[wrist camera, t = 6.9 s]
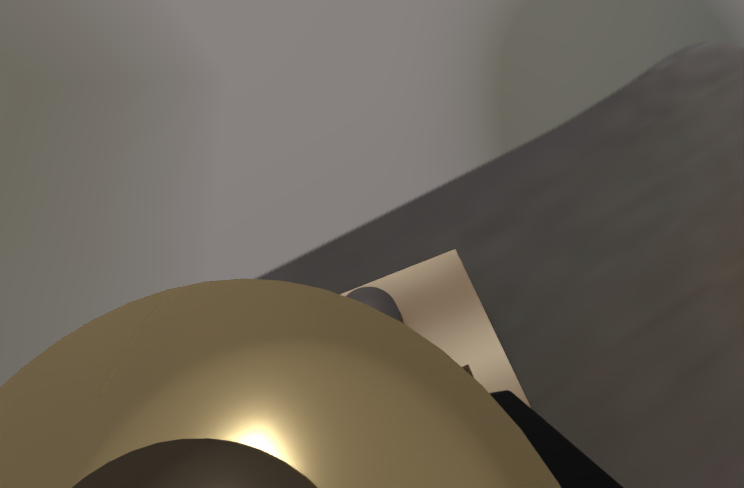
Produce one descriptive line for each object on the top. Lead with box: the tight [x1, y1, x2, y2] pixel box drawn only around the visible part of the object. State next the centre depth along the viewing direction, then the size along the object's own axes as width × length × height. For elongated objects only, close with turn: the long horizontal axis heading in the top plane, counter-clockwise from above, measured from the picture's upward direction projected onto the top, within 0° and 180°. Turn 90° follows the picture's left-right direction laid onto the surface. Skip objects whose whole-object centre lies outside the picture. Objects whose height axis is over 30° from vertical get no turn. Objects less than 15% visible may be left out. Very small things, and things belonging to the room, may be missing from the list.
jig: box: [340, 249, 531, 408], centre depth 17 cm, size 12×9×4 cm
